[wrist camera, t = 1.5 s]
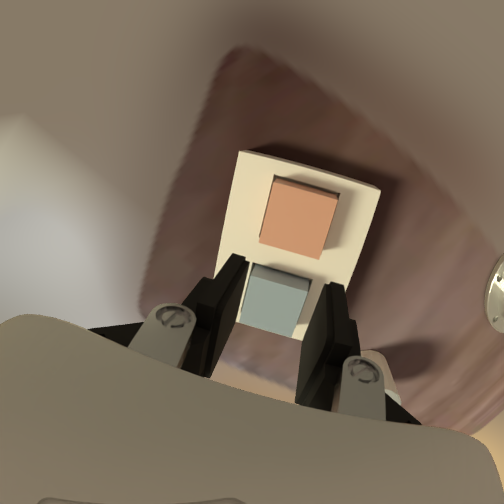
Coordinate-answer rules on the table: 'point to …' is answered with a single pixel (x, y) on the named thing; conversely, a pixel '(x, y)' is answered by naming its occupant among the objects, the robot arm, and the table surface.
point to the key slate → (274, 300)
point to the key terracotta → (298, 218)
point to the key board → (317, 271)
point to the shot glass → (384, 373)
